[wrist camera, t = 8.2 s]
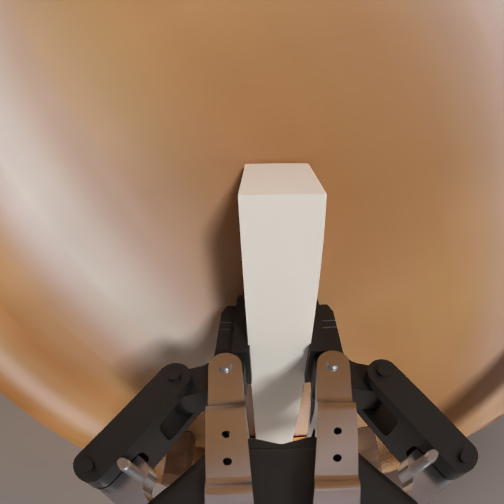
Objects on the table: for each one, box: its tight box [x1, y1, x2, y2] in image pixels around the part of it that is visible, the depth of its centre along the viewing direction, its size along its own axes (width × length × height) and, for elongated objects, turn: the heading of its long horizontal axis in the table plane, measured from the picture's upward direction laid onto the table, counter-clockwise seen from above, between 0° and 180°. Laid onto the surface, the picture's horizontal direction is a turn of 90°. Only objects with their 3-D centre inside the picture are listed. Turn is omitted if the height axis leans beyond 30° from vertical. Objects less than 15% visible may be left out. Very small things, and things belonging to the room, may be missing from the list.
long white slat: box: [238, 163, 327, 444], centre depth 16 cm, size 8×26×4 cm, turn 2°
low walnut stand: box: [162, 427, 382, 487], centre depth 25 cm, size 20×14×6 cm
